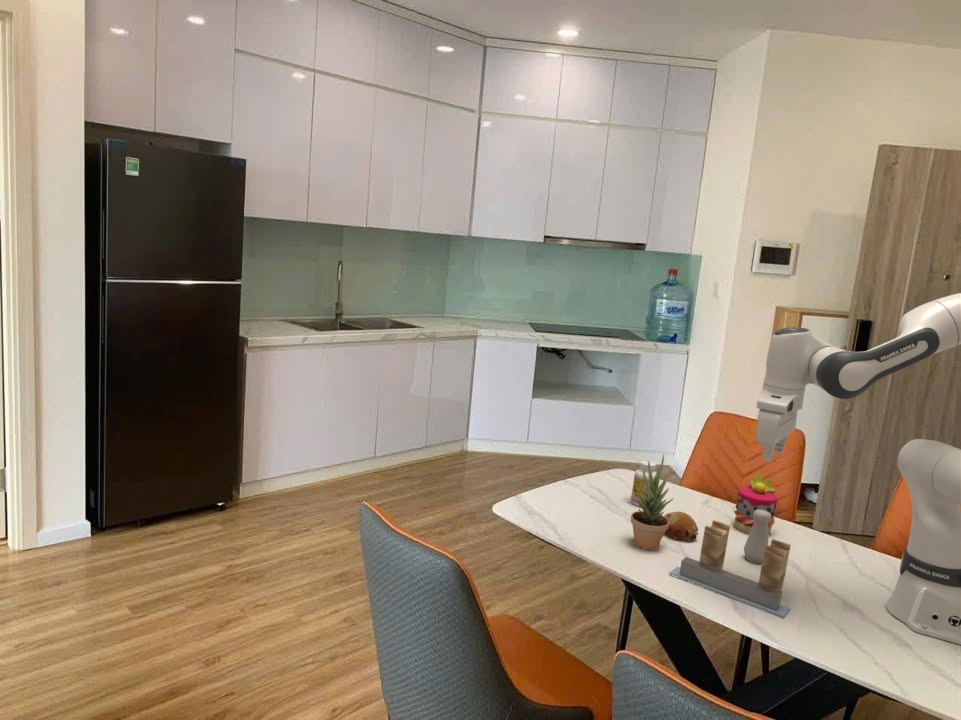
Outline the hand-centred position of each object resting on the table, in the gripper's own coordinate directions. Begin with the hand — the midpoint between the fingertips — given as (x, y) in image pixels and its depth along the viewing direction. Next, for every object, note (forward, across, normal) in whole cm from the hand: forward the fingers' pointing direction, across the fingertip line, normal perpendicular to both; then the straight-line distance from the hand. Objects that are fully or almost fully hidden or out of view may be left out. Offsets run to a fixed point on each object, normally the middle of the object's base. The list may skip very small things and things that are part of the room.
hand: (773, 456), depth 167 cm
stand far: (+30, +3, -10) cm, 32 cm away
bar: (+30, +12, -3) cm, 32 cm away
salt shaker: (+31, -12, -3) cm, 33 cm away
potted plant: (+30, +2, -27) cm, 40 cm away
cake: (+31, -33, -10) cm, 46 cm away
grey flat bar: (+30, +12, -3) cm, 33 cm away
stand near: (+30, +4, +4) cm, 31 cm away
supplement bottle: (+30, -25, -40) cm, 56 cm away
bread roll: (+31, -11, -23) cm, 40 cm away
